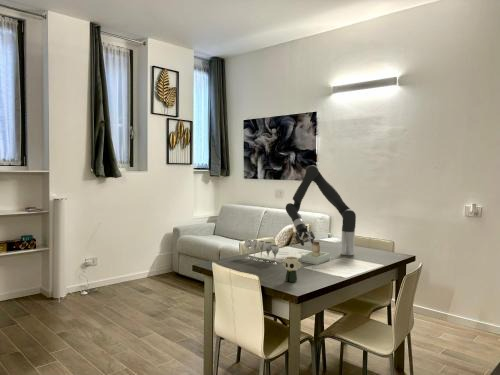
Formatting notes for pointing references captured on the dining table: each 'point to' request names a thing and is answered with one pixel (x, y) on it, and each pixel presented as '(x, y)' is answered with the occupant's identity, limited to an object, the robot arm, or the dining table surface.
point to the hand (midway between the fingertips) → (308, 244)
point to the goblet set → (261, 247)
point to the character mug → (291, 268)
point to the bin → (315, 258)
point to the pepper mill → (315, 249)
